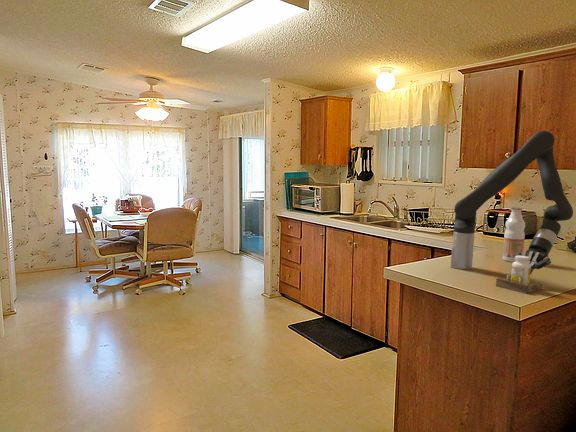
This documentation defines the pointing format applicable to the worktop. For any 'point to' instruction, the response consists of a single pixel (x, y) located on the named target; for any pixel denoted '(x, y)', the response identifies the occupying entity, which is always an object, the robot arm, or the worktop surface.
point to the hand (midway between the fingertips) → (525, 274)
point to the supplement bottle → (521, 270)
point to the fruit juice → (514, 235)
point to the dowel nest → (517, 285)
